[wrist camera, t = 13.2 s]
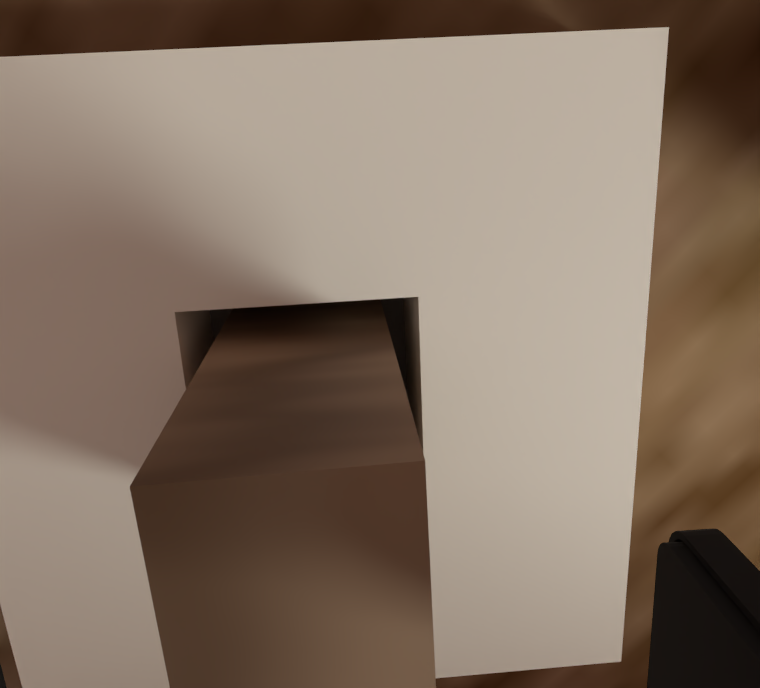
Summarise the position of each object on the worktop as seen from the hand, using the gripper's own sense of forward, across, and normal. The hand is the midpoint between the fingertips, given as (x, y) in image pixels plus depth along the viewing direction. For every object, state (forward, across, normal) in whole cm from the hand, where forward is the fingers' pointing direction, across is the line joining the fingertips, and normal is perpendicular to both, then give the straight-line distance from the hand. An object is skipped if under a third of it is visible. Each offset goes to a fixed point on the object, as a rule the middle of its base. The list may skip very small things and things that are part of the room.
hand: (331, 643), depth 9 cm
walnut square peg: (+11, +1, -1) cm, 11 cm away
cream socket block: (+11, +1, -1) cm, 11 cm away
